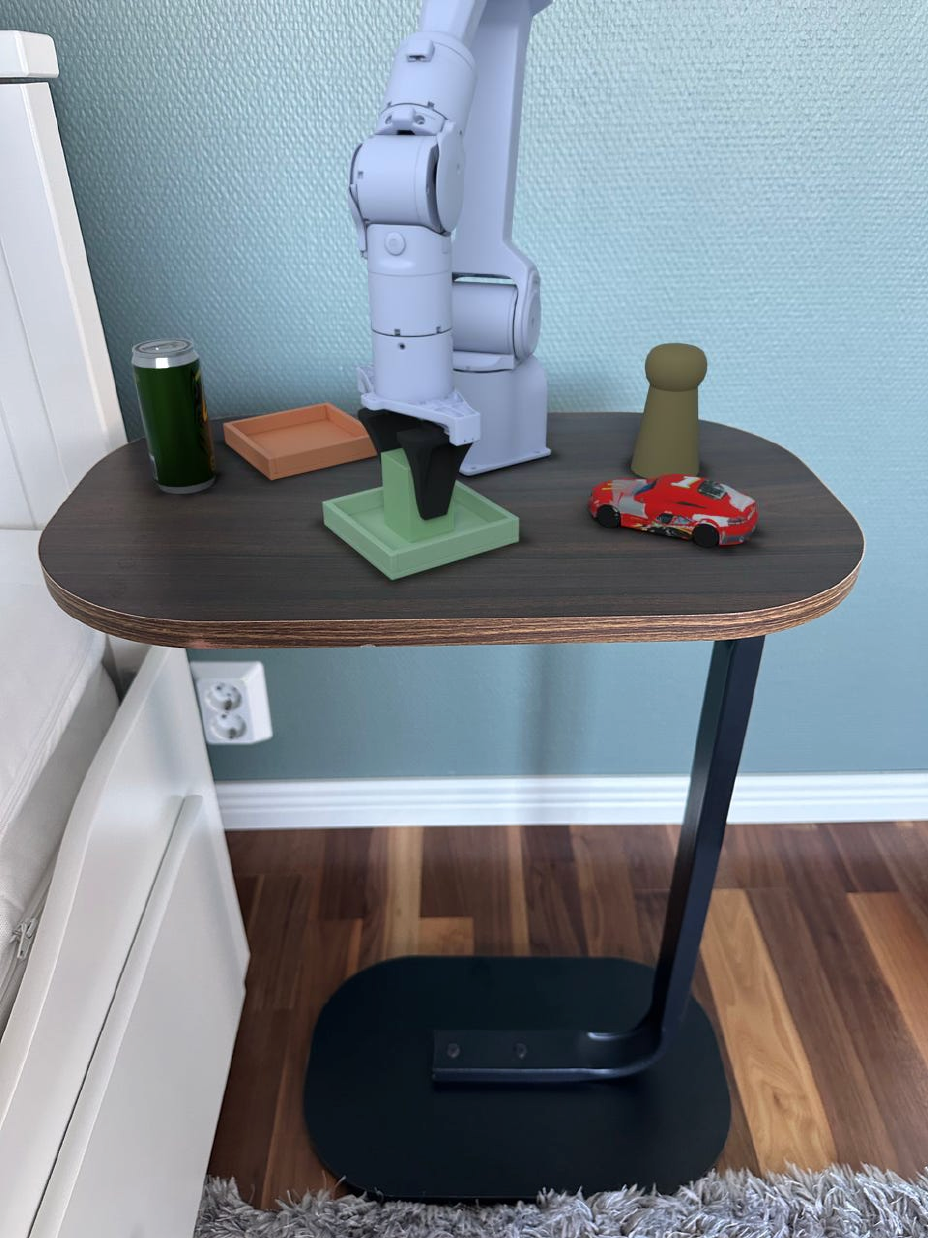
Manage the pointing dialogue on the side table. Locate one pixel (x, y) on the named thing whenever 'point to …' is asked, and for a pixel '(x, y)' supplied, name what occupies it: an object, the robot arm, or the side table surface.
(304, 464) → the terracotta tray
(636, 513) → the race car
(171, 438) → the beer can
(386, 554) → the sage tray
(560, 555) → the side table surface
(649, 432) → the olive pawn piece
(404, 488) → the sage block
